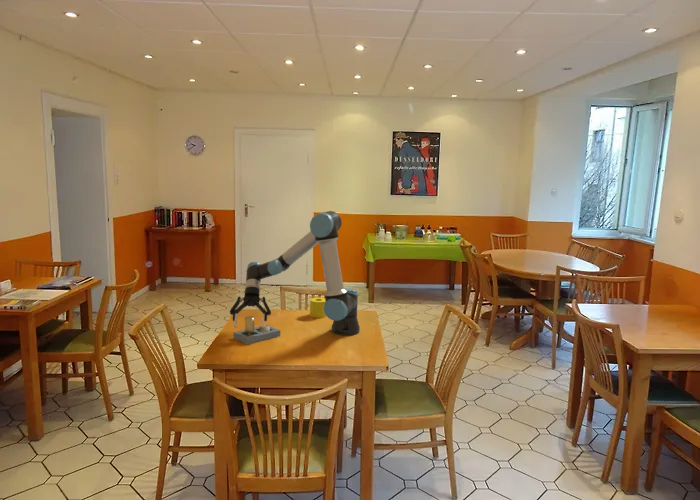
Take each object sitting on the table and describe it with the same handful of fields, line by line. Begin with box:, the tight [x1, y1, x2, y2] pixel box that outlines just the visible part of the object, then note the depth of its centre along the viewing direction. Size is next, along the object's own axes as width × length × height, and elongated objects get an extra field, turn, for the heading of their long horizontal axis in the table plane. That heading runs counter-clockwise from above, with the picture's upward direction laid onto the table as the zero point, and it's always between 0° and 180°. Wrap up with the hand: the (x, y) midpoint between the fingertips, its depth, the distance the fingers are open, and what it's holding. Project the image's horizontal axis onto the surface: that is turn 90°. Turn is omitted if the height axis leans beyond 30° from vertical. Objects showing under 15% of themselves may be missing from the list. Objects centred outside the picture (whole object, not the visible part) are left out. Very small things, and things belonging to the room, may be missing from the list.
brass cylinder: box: [244, 315, 255, 336], centre depth 252 cm, size 4×4×11 cm
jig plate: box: [232, 324, 281, 345], centre depth 256 cm, size 12×20×3 cm, turn 135°
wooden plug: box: [258, 324, 270, 332], centre depth 259 cm, size 5×5×4 cm
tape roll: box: [309, 297, 328, 319], centre depth 297 cm, size 10×10×9 cm
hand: (249, 326), depth 249 cm, fingers open, 13 cm apart
